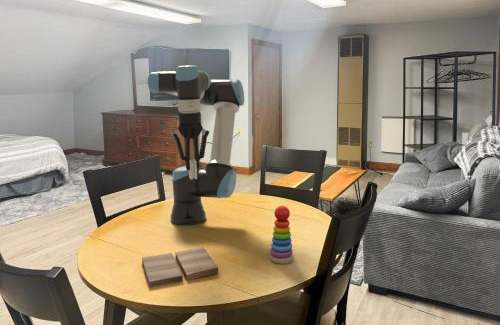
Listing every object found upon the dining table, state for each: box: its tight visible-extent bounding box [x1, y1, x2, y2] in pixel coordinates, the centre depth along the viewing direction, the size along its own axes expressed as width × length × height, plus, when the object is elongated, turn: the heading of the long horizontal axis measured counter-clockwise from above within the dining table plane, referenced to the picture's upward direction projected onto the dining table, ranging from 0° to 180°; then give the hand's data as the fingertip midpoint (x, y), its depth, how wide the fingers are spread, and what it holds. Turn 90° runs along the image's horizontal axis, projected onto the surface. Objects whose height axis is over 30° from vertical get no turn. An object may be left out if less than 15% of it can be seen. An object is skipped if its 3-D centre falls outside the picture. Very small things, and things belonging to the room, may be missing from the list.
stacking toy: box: [269, 205, 294, 265], centre depth 140 cm, size 8×8×19 cm
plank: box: [175, 246, 219, 281], centre depth 138 cm, size 18×10×2 cm, turn 21°
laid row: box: [141, 252, 184, 288], centre depth 134 cm, size 18×10×2 cm, turn 21°
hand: (193, 178), depth 149 cm, fingers closed
